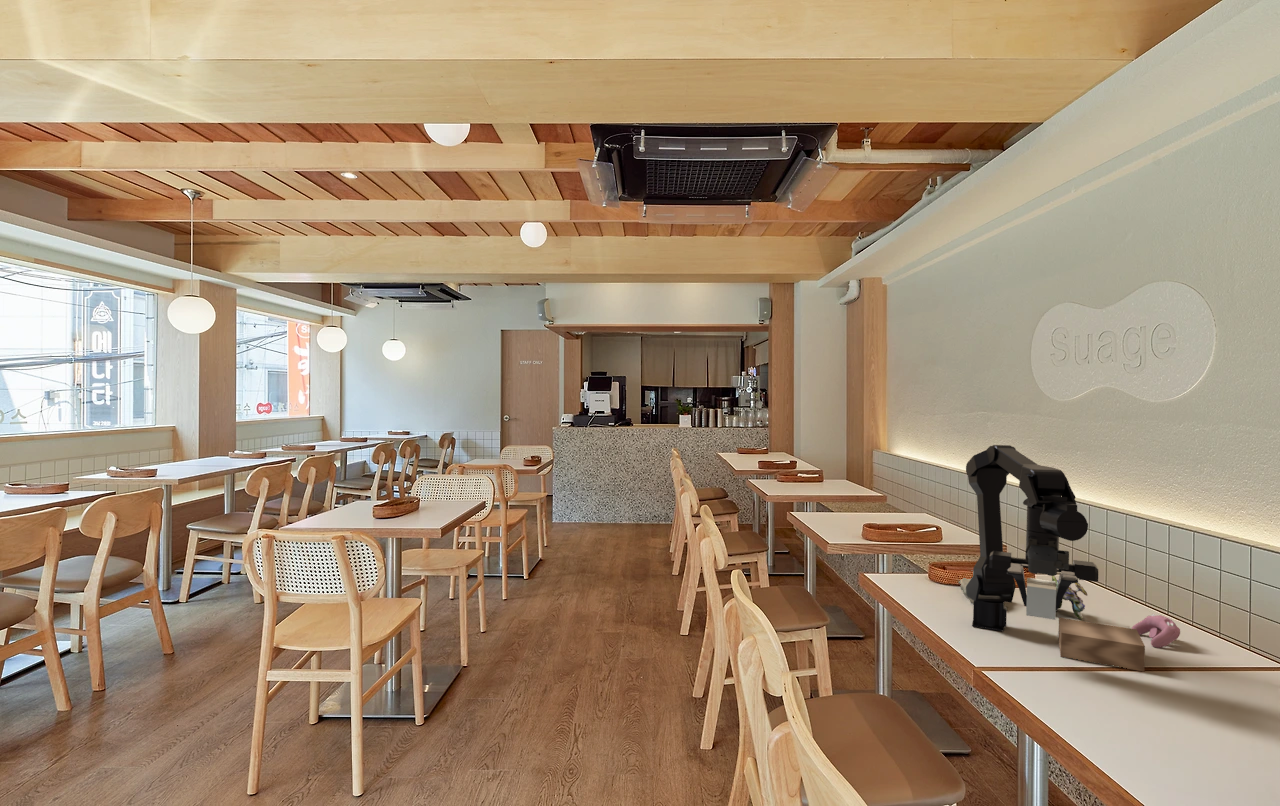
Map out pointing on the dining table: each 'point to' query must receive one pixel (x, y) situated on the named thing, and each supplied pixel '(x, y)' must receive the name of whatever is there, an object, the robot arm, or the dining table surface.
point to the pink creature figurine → (1158, 630)
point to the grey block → (1041, 598)
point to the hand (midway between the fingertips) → (1040, 608)
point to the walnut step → (1101, 644)
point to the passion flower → (1073, 598)
